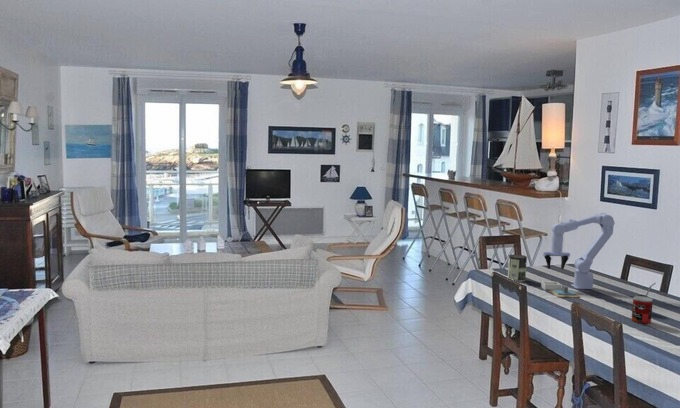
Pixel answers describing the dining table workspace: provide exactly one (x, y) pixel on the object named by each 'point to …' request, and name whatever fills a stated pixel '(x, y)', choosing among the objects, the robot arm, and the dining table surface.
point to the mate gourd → (647, 292)
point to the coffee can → (517, 267)
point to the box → (551, 285)
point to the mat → (565, 295)
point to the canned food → (642, 309)
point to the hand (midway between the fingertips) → (555, 268)
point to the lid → (564, 291)
